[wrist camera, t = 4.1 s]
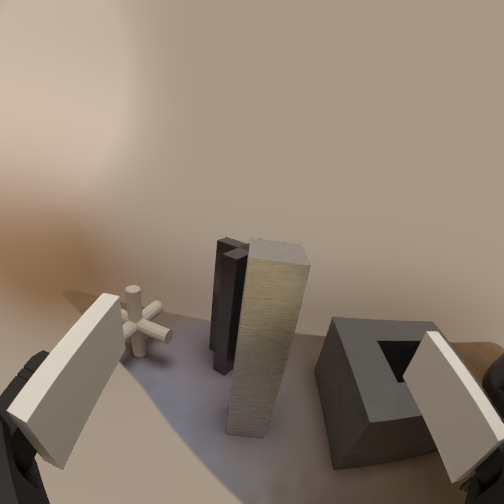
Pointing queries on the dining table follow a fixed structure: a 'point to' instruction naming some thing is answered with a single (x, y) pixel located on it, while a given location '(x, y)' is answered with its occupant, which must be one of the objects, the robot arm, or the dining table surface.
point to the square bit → (265, 332)
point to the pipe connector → (142, 322)
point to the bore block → (372, 391)
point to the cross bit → (227, 301)
